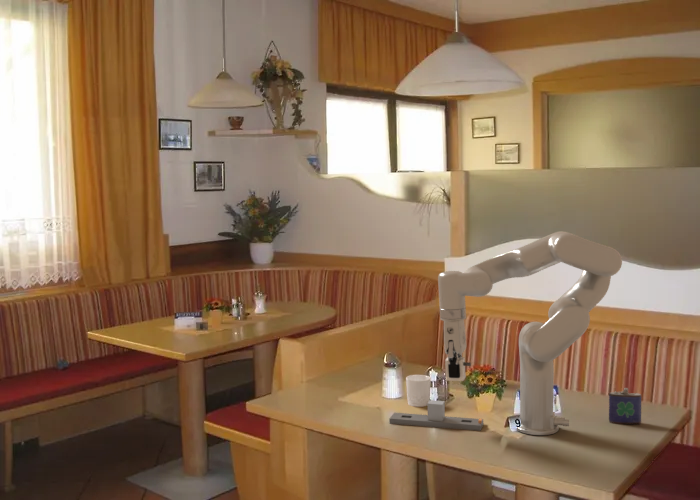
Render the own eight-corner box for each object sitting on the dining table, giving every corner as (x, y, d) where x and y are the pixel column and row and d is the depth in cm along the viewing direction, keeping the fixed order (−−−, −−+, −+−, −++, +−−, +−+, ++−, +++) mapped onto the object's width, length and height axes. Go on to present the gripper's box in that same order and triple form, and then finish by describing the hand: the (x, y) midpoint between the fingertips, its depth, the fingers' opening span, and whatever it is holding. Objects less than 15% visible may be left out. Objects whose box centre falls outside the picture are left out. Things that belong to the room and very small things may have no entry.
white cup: (429, 412, 250) (429, 381, 249) (404, 411, 252) (404, 380, 251) (431, 405, 258) (431, 375, 257) (407, 404, 260) (407, 374, 259)
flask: (640, 422, 237) (641, 387, 236) (642, 425, 234) (642, 390, 233) (608, 420, 239) (608, 386, 238) (609, 423, 236) (609, 388, 235)
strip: (483, 429, 233) (483, 416, 232) (480, 435, 227) (480, 422, 227) (394, 422, 241) (394, 410, 240) (389, 428, 235) (389, 415, 235)
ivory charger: (472, 382, 232) (471, 357, 231) (470, 386, 228) (469, 360, 227) (449, 381, 234) (447, 357, 233) (446, 385, 230) (445, 360, 229)
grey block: (444, 422, 235) (444, 401, 234) (442, 426, 231) (442, 404, 231) (430, 421, 236) (429, 400, 236) (427, 425, 233) (427, 403, 232)
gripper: (460, 319, 220) (463, 383, 222) (470, 308, 236) (473, 368, 238) (434, 319, 222) (437, 383, 224) (445, 308, 238) (448, 368, 240)
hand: (455, 374), depth 231 cm, fingers closed on ivory charger, 4 cm apart
